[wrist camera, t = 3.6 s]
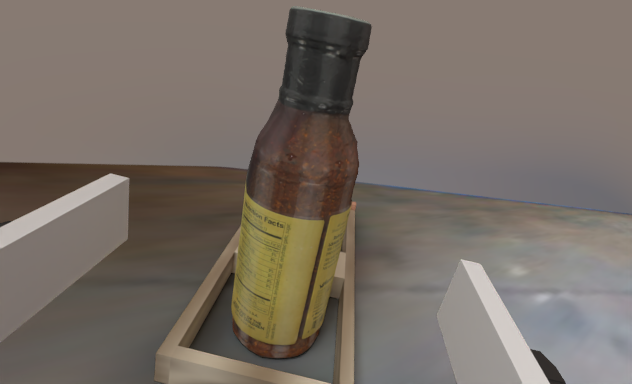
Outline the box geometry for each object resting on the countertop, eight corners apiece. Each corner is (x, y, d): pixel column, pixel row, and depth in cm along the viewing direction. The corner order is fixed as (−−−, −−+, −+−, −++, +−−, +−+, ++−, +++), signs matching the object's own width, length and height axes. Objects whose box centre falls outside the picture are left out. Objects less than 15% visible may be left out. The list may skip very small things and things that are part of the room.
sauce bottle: (295, 293, 29) (358, 26, 22) (334, 353, 24) (432, 35, 17) (213, 306, 26) (254, -3, 19) (238, 378, 21) (309, -1, 14)
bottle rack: (154, 380, 20) (156, 344, 19) (264, 201, 44) (267, 181, 43) (344, 428, 20) (356, 394, 19) (350, 221, 44) (356, 202, 43)
